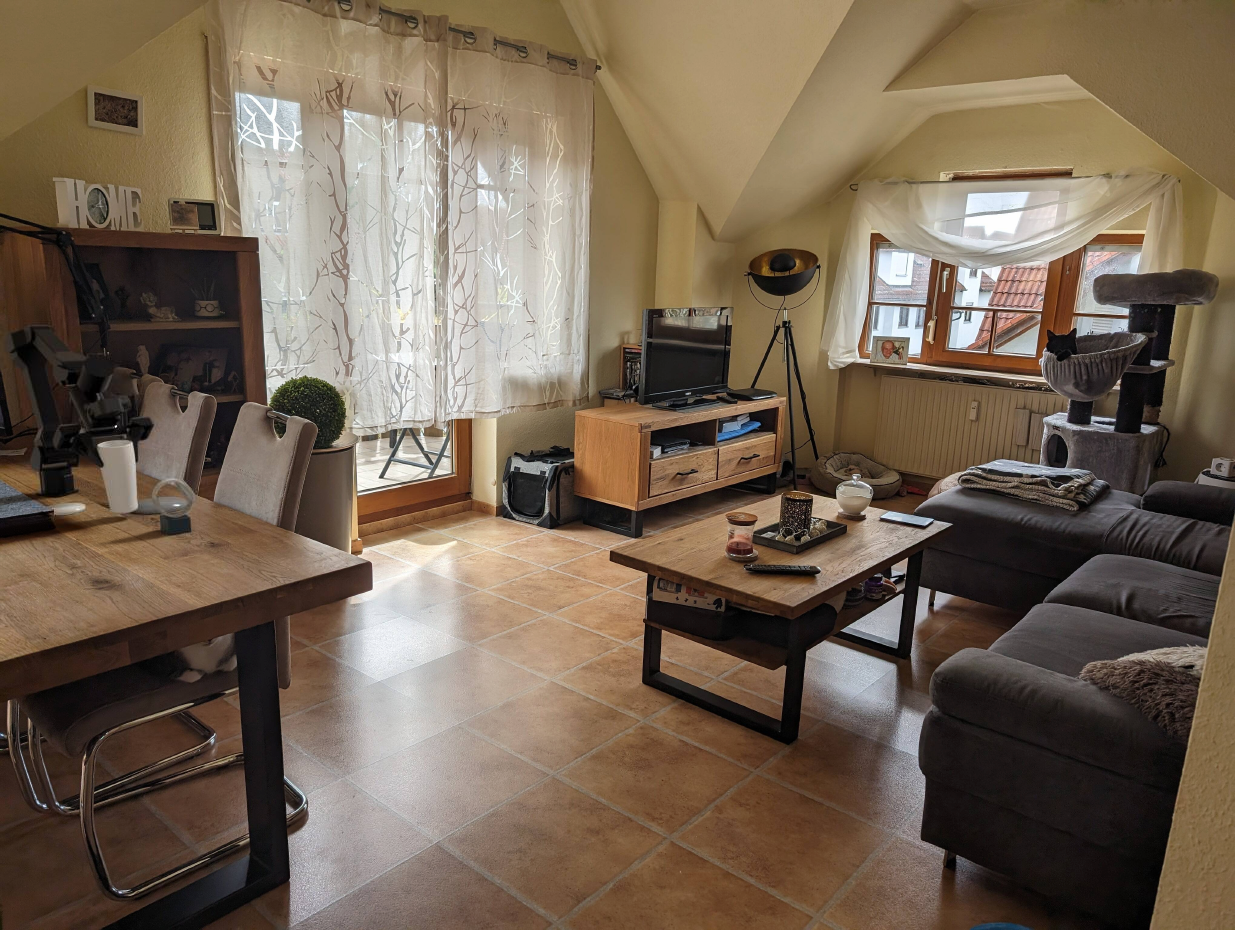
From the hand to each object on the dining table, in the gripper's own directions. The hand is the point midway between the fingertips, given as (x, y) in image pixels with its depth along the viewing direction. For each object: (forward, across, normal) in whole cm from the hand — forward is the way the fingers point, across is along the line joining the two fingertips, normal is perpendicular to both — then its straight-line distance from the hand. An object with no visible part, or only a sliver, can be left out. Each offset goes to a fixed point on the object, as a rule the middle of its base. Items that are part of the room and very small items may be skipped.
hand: (119, 464), depth 185 cm
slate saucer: (+6, +10, +12) cm, 16 cm away
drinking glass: (+7, +1, +8) cm, 11 cm away
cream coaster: (-3, -6, +20) cm, 21 cm away
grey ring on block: (+20, +3, -3) cm, 21 cm away
